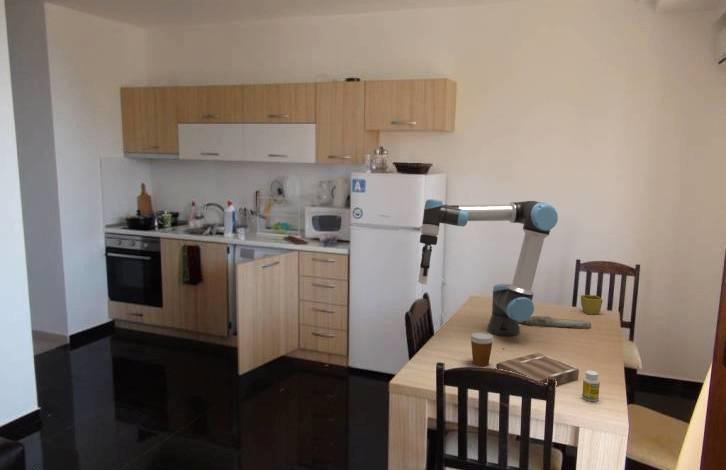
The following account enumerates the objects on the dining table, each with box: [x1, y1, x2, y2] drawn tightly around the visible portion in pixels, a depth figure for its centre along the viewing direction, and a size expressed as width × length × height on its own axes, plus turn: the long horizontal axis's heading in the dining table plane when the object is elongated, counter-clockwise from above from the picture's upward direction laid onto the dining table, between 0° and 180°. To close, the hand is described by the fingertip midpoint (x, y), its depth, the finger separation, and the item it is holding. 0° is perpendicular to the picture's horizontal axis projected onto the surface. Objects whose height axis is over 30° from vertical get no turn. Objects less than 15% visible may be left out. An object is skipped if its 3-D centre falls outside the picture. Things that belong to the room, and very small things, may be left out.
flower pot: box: [580, 294, 603, 315], centre depth 294 cm, size 9×9×9 cm
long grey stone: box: [518, 315, 592, 330], centre depth 274 cm, size 35×5×10 cm
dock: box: [495, 352, 580, 387], centre depth 211 cm, size 22×21×4 cm
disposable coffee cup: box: [469, 331, 495, 367], centre depth 221 cm, size 10×10×12 cm
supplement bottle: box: [581, 370, 601, 402], centre depth 191 cm, size 5×5×10 cm
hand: (422, 283), depth 235 cm, fingers open, 13 cm apart
